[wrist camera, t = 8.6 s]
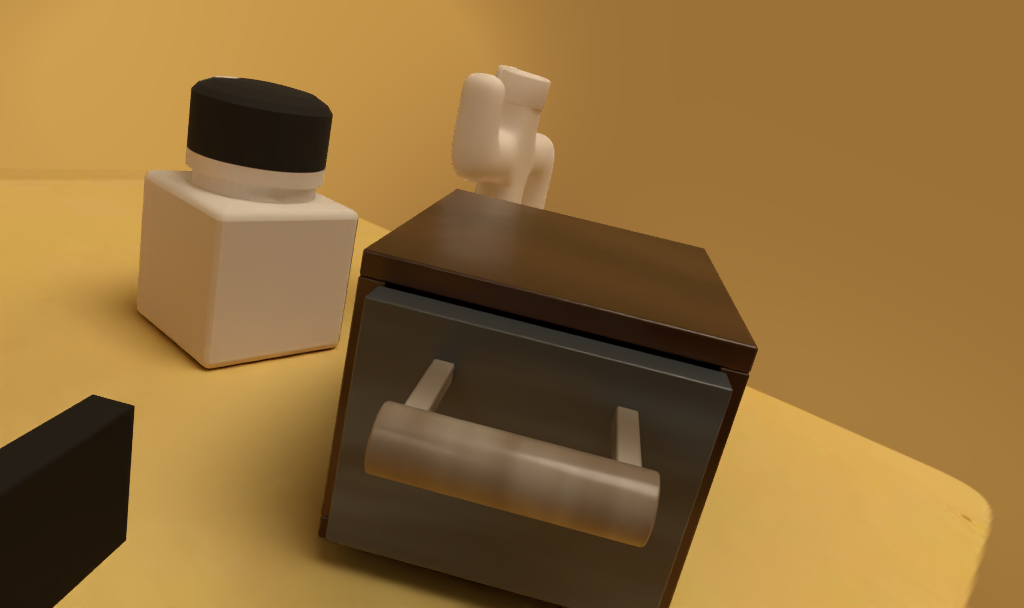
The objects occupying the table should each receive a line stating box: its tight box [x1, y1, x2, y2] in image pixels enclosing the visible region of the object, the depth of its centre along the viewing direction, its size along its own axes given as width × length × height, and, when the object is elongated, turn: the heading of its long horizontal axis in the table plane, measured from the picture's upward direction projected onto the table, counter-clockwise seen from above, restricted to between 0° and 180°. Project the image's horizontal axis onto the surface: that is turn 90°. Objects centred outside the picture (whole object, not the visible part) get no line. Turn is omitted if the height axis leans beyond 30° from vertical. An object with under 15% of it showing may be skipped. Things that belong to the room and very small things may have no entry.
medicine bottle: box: [137, 76, 358, 369], centre depth 35 cm, size 7×7×12 cm
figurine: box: [452, 65, 554, 210], centre depth 43 cm, size 7×9×15 cm
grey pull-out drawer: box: [326, 286, 733, 608], centre depth 23 cm, size 16×10×8 cm, turn 172°
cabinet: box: [318, 189, 758, 608], centre depth 27 cm, size 13×11×10 cm
